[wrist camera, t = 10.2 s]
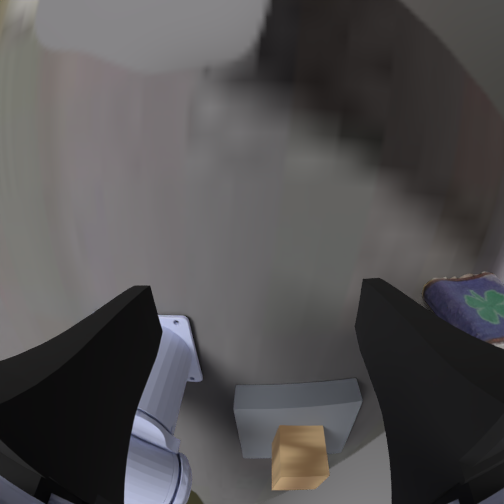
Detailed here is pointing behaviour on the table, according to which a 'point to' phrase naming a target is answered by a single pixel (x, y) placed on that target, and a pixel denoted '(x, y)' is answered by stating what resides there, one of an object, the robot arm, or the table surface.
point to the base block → (295, 412)
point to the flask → (470, 304)
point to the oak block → (299, 458)
